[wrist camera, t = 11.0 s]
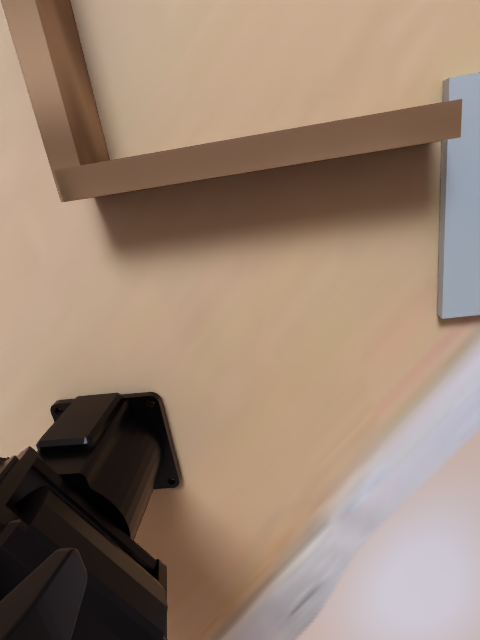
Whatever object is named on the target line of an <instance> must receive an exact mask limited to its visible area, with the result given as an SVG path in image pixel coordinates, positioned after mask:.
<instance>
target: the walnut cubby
mask: <svg viewBox="0 0 480 640" xmlns="http://www.w3.org/2000/svg"><path fill="white" fill-rule="evenodd" d="M1 3H2V6H3V9H4V13H5V16H6V19H7V23H8V26H9V30H10V33H11V36H12V40H13V43H14V46H15V50H16V53H17V56H18V60H19V63H20V66H21V70H22V73H23V76H24V80H25V83H26V87H27V90H28V93H29V97H30V100H31V103H32V107H33V110H34V113H35V117H36V120H37V123H38V127H39V130H40V133H41V137H42V140H43V143H44V147H45V150H46V154H47V157H48V160H49V164H50V167H51V170H52V174H53V177H54V180H55V184H56V187H57V190H58V194H59V197H60V200H61V202H67V201H73V200H80V199H87V198H94V197H100V196H106V195H112V194H118V193H124V192H130V191H137V190H143V189H149V188H155V187H161V186H167V185H174V184H180V183H186V182H192V181H198V180H204V179H211V178H217V177H223V176H229V175H235V174H241V173H248V172H254V171H260V170H266V169H272V168H278V167H284V166H291V165H297V164H303V163H309V162H315V161H321V160H328V159H334V158H340V157H346V156H352V155H358V154H365V153H371V152H377V151H383V150H389V149H395V148H402V147H408V146H414V145H420V144H426V143H432V142H438V141H443V140H449V139H455V138H460V137H461V119H462V99H458V100H453V101H447V102H441V103H435V104H430V105H424V106H418V107H413V108H407V109H401V110H395V111H390V112H384V113H378V114H373V115H367V116H361V117H355V118H350V119H344V120H338V121H333V122H327V123H321V124H315V125H310V126H304V127H298V128H292V129H287V130H281V131H275V132H270V133H264V134H258V135H252V136H247V137H241V138H235V139H230V140H224V141H218V142H212V143H207V144H201V145H195V146H190V147H184V148H178V149H172V150H167V151H161V152H155V153H150V154H144V155H138V156H132V157H127V158H121V159H115V160H109V157H108V153H107V149H106V145H105V141H104V137H103V133H102V129H101V125H100V121H99V116H98V112H97V108H96V104H95V100H94V96H93V92H92V88H91V84H90V80H89V76H88V72H87V68H86V64H85V60H84V56H83V52H82V48H81V44H80V40H79V36H78V32H77V28H76V24H75V20H74V16H73V12H72V8H71V4H70V0H1Z"/></svg>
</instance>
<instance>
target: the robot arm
mask: <svg viewBox="0 0 480 640" xmlns="http://www.w3.org/2000/svg"><path fill="white" fill-rule="evenodd" d="M148 400H153V401H154V402H155V403H154V404H153V403H150V402H149V401H148ZM59 408H61V409H62V410H63V411H61V410H59ZM50 410H51V414H52V416H53V419H54V422H55V423H54V424H53V425H52V426H51V427H50V428H49V429H48V430H47V432H46V433H45V434H44V435H43V436H42V437H41V438H40V440H39V441H38V443H37V444H36V447H37V449H38V451H37V452H36V451H35V450H34V449H33V448H31V447H30V446H29V447H28V448H26V449H25V450H24V451H23V452H21V453H20V454H19V455H17V456H15V455H14V456H12V457H11V458H9V457H7V458H1V457H0V640H167V608H168V607H167V567H166V566H165V565H164V564H163V563H162V562H161V561H160V560H159V559H157V560H155V559H154V558H153V557H152V556H151V555H149V554H148V553H147V552H146V551H145V550H144V549H143V548H141V547H140V546H139V545H138V544H137V543H136V542H135V541H134V538H135V536H136V533H137V531H138V528H139V525H140V523H141V520H142V518H143V515H144V512H145V510H146V507H147V504H148V502H149V499H150V497H151V494H152V491H153V489H162V488H175V487H177V486H178V485H179V483H180V480H181V475H180V471H179V467H178V463H177V459H176V455H175V451H174V447H173V444H172V440H171V436H170V432H169V428H168V424H167V420H166V416H165V412H164V408H163V404H162V401H161V398H160V396H159V395H158V394H157V393H154V392H145V393H134V394H122V395H121V394H119V393H110V394H99V395H88V396H78V397H76V399H66V400H58V401H56V402H55V403H54V404H53V405H52V406H51V409H50ZM170 478H173V479H174V480H172V479H170Z"/></svg>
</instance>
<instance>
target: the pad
mask: <svg viewBox="0 0 480 640" xmlns="http://www.w3.org/2000/svg"><path fill="white" fill-rule="evenodd" d="M458 99H462V119H461V137H460V138H455V139H449V140H443V141H442V150H441V189H440V227H439V265H438V304H437V315H438V316H439V317H441V318H442V319H445V318H455V317H465V316H474V315H480V72H479V73H474V74H468V75H463V76H457V77H452V78H448V79H447V80H445V81H443V102H447V101H453V100H458Z"/></svg>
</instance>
